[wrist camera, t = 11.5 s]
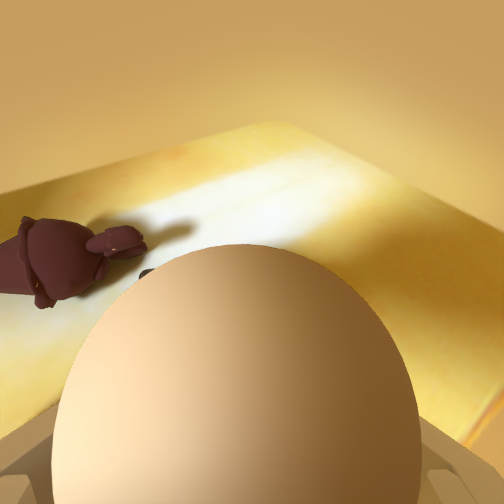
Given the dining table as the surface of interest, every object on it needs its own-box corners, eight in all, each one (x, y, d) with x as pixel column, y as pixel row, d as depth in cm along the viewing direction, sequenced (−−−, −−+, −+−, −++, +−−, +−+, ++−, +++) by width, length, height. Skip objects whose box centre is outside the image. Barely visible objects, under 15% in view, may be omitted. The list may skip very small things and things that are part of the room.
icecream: (-112, 339, 17) (151, 278, 21) (-122, 221, 18) (130, 184, 22) (-31, 332, 24) (157, 286, 28) (-42, 246, 25) (141, 214, 29)
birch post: (170, 457, 12) (-68, 751, 2) (182, 335, 14) (84, 220, 4) (287, 456, 13) (510, 709, 3) (283, 337, 15) (399, 233, 5)
